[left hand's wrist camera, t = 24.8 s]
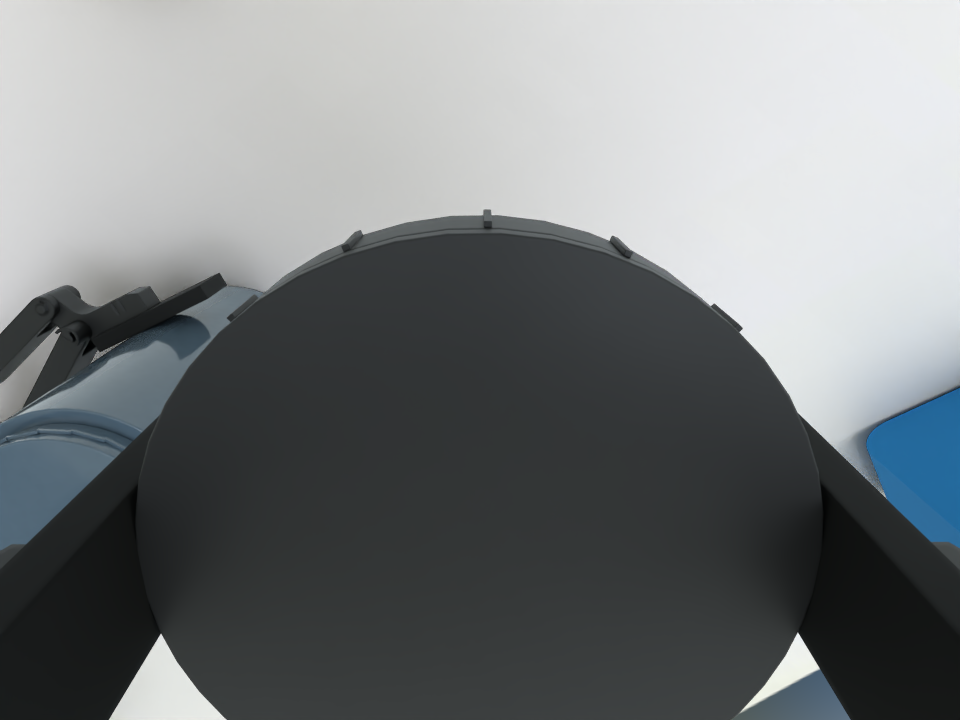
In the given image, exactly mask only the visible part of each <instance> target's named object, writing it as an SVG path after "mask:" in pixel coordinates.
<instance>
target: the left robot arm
mask: <svg viewBox="0 0 960 720" xmlns="http://www.w3.org/2000/svg"><path fill="white" fill-rule="evenodd" d="M798 415H799V414H798ZM159 416H160V415H159ZM159 416H158V417H157V418H156V419H155V420H154V421H153V422H152V423H151V424H150V425H149V426H148V427H147V428H146V429H145V430H144V431H143V432H142V433H141V434H140V435H139V436H138V437H136V438H135V439H134V440H133V441H132V442H131V443H130V444H129V445H128V446H127V447H126V448H125V449H124V450H123V451H122V452H121V453H120V454H119V455H118V456H117V457H116V458H115V459H114V460H113V461H112V462H111V463H110V464H109V465H108V466H107V467H105V468H104V469H103V470H102V471H101V472H100V473H99V474H98V475H97V476H96V477H95V478H94V479H93V480H92V481H91V482H90V483H89V484H88V485H87V486H86V487H85V488H84V489H83V490H82V491H81V492H80V493H79V494H78V495H77V496H76V497H74V498H73V499H72V500H71V501H70V502H69V503H68V504H67V505H66V506H65V507H64V508H63V509H62V510H61V511H60V512H59V513H58V514H57V515H56V516H55V517H54V518H53V519H52V520H51V521H50V522H49V523H48V524H47V525H46V526H45V527H43V528H42V529H41V530H40V531H39V532H38V533H37V534H36V535H35V536H34V537H33V538H32V539H31V540H30V541H29V542H28V543H27V544H11V545H9V546H8V547H6V548H4V549H2V550H1V551H0V720H109V718H110V717H111V715H112V713H113V712H114V710H115V708H116V707H117V705H118V703H119V702H120V700H121V699H122V697H123V695H124V694H125V692H126V690H127V689H128V687H129V685H130V684H131V682H132V680H133V679H134V677H135V675H136V674H137V672H138V670H139V669H140V667H141V665H142V664H143V662H144V660H145V659H146V657H147V655H148V654H149V652H150V650H151V649H152V647H153V646H154V644H155V642H156V641H157V639H158V637H159V636H160V634H161V632H160V630H159V628H158V625H157V623H156V620H155V618H154V615H153V612H152V610H151V607H150V605H149V602H148V598H147V594H146V589H145V585H144V580H143V575H142V571H141V566H140V561H139V556H138V550H137V543H136V529H135V514H136V503H137V492H138V481H139V477H140V473H141V469H142V465H143V461H144V457H145V453H146V449H147V445H148V442H149V439H150V437H151V435H152V432H153V430H154V428H155V425H156V423H157V421H158V419H159ZM799 417H800V419H801V421H802V423H803V425H804V428H805V430H806V432H807V434H808V438H809V441H810V444H811V448H812V451H813V455H814V458H815V462H816V465H817V468H818V472H819V479H820V487H821V496H822V504H823V512H824V514H823V542H822V552H821V557H820V562H819V567H818V571H817V576H816V581H815V586H814V590H813V595H812V598H811V601H810V603H809V606H808V609H807V612H806V615H805V618H804V620H803V623H802V625H801V627H800V629H799V631H798V633H799V635H800V636H801V638H802V640H803V641H804V643H805V645H806V646H807V648H808V650H809V651H810V653H811V655H812V656H813V658H814V659H815V661H816V663H817V664H818V666H819V668H820V669H821V671H822V673H823V674H824V676H825V678H826V679H827V681H828V683H829V684H830V686H831V688H832V689H833V691H834V693H835V694H836V696H837V698H838V699H839V701H840V702H841V704H842V706H843V708H844V709H845V711H846V712H847V714H848V716H849V717H850V719H851V720H960V548H958V547H957V546H955V545H953V544H951V543H950V542H931V541H929V540H928V539H927V538H926V537H925V536H924V535H923V534H922V533H921V532H920V531H919V530H918V529H917V528H916V527H915V526H914V525H913V524H912V523H911V522H910V521H909V520H908V519H907V518H906V517H905V516H904V515H903V514H902V513H901V512H900V511H898V510H897V509H896V508H895V507H894V506H893V505H892V504H891V503H890V502H889V501H888V500H887V499H886V498H885V497H884V496H883V495H882V494H881V493H880V492H879V491H878V490H877V489H876V488H875V487H874V486H873V485H872V484H871V483H870V482H869V481H867V480H866V479H865V478H864V477H863V476H862V475H861V474H860V473H859V472H858V471H857V470H856V469H855V468H854V467H853V466H852V465H851V464H850V463H849V462H848V461H847V460H846V459H845V458H844V457H843V456H842V455H841V454H840V453H839V452H838V451H836V450H835V449H834V448H833V447H832V446H831V445H830V444H829V443H828V442H827V441H826V440H825V439H824V438H823V437H822V436H821V435H820V434H819V433H818V432H817V431H816V430H815V429H814V428H813V427H812V426H811V425H810V424H809V423H808V422H807V421H805V420H804V419H803V418H802V417H801V416H800V415H799Z"/></svg>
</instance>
